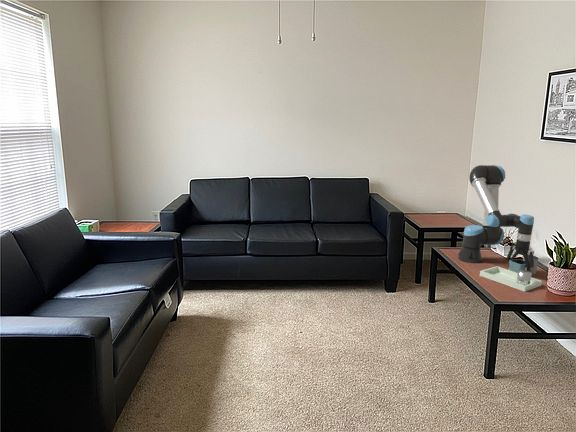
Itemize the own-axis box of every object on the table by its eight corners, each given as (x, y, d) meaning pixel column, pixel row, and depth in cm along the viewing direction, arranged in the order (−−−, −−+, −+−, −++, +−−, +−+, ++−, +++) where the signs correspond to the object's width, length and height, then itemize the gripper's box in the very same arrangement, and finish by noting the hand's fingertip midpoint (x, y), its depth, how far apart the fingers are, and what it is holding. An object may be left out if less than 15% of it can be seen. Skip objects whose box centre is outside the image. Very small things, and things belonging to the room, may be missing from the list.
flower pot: (506, 273, 277) (508, 260, 275) (516, 272, 281) (518, 258, 279) (518, 278, 269) (520, 264, 267) (528, 276, 273) (531, 263, 271)
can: (513, 284, 257) (515, 271, 256) (520, 281, 261) (522, 269, 259) (525, 288, 252) (527, 275, 250) (531, 285, 256) (534, 273, 254)
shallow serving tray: (479, 276, 270) (480, 270, 269) (496, 272, 279) (497, 266, 278) (524, 293, 247) (525, 286, 246) (540, 287, 257) (542, 280, 256)
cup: (537, 274, 277) (540, 259, 275) (523, 273, 279) (526, 258, 277) (533, 270, 285) (535, 255, 283) (519, 269, 287) (522, 254, 285)
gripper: (503, 236, 276) (497, 270, 282) (538, 245, 259) (531, 281, 264) (509, 234, 281) (504, 268, 286) (544, 243, 263) (538, 279, 268)
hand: (517, 274), depth 275 cm, fingers closed on flower pot, 9 cm apart
